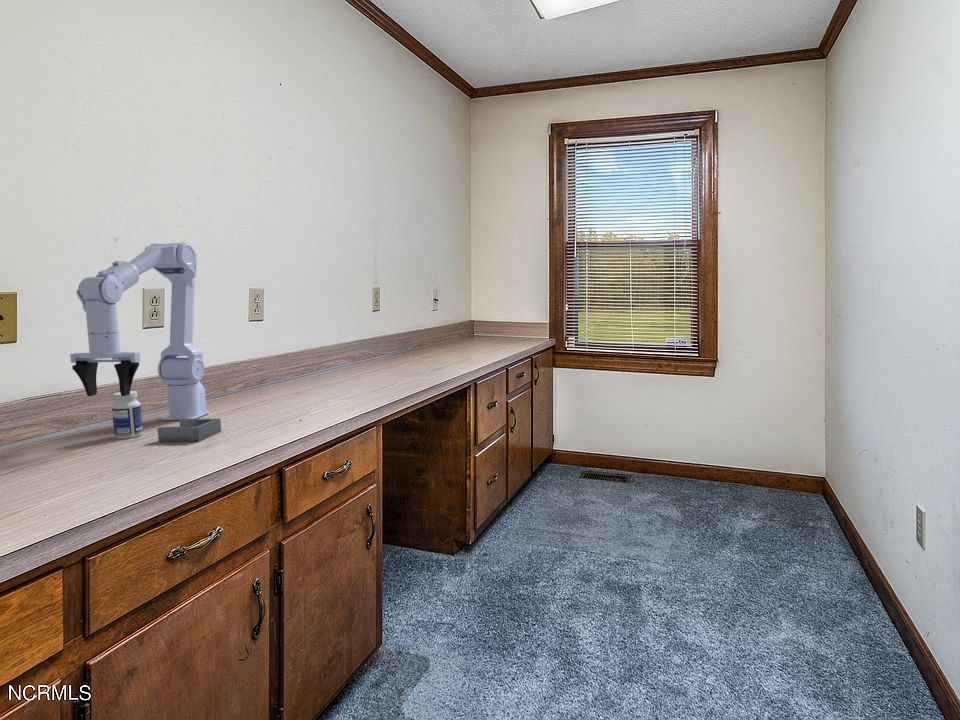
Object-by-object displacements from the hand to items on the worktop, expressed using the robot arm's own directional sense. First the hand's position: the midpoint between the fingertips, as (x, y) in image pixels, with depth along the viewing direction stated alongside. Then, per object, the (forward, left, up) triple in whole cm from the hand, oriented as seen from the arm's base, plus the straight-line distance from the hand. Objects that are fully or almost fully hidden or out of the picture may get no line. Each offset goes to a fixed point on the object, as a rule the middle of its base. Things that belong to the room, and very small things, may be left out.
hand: (108, 395), depth 140 cm
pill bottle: (-4, +1, -10) cm, 11 cm away
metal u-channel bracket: (-4, +15, -10) cm, 19 cm away
